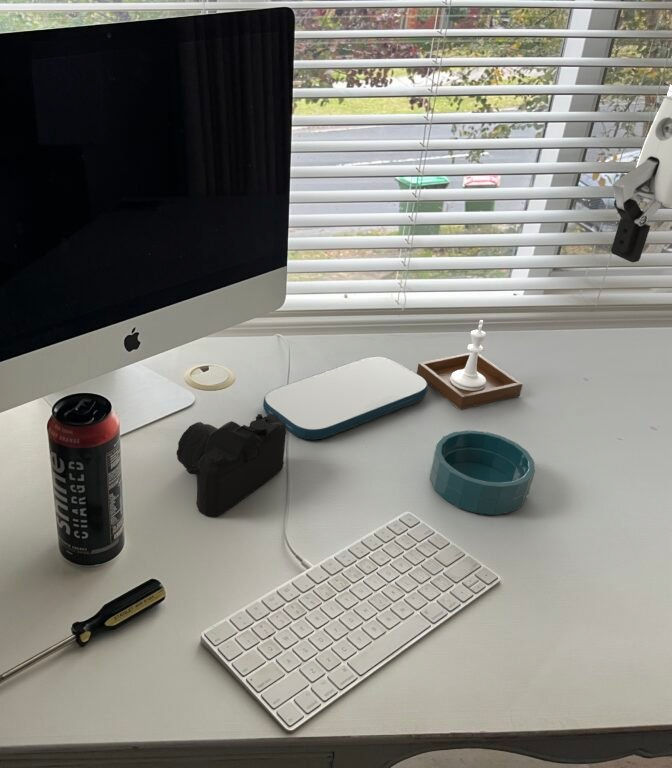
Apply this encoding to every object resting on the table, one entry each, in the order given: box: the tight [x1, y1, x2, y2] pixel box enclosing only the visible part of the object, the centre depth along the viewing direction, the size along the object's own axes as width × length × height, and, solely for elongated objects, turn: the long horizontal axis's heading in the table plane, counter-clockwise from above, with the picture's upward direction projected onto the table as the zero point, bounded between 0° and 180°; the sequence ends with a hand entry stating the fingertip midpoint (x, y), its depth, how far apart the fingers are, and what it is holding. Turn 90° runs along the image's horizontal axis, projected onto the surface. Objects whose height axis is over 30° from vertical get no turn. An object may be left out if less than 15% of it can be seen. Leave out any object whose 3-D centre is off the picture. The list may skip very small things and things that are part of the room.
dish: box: [429, 429, 536, 516], centre depth 95 cm, size 11×11×4 cm
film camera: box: [176, 413, 288, 518], centre depth 95 cm, size 15×10×9 cm, turn 135°
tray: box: [416, 351, 524, 410], centre depth 115 cm, size 10×10×2 cm
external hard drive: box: [262, 356, 429, 440], centre depth 112 cm, size 24×12×2 cm, turn 121°
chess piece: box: [450, 319, 487, 391], centre depth 113 cm, size 5×5×10 cm
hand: (659, 251), depth 85 cm, fingers open, 9 cm apart
